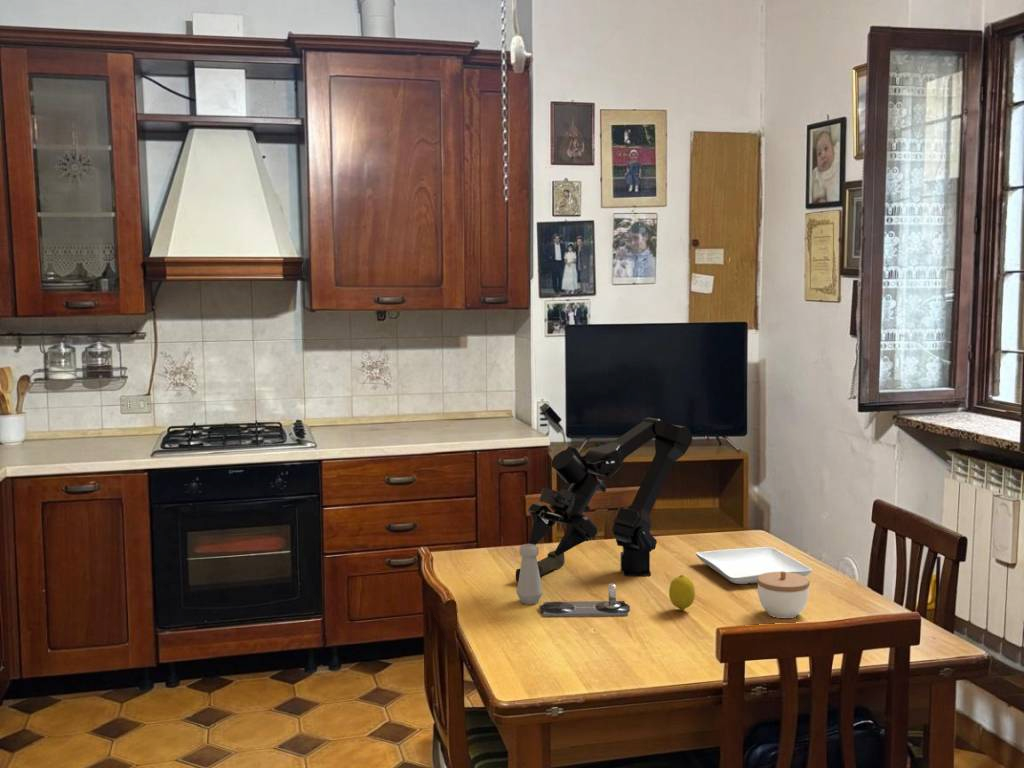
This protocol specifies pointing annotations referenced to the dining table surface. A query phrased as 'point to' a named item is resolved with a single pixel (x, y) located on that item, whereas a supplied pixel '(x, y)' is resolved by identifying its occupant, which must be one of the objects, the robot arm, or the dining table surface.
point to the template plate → (582, 609)
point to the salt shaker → (529, 575)
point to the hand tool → (547, 564)
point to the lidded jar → (783, 593)
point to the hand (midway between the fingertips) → (542, 550)
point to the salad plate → (751, 563)
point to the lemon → (682, 592)
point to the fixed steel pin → (612, 598)
